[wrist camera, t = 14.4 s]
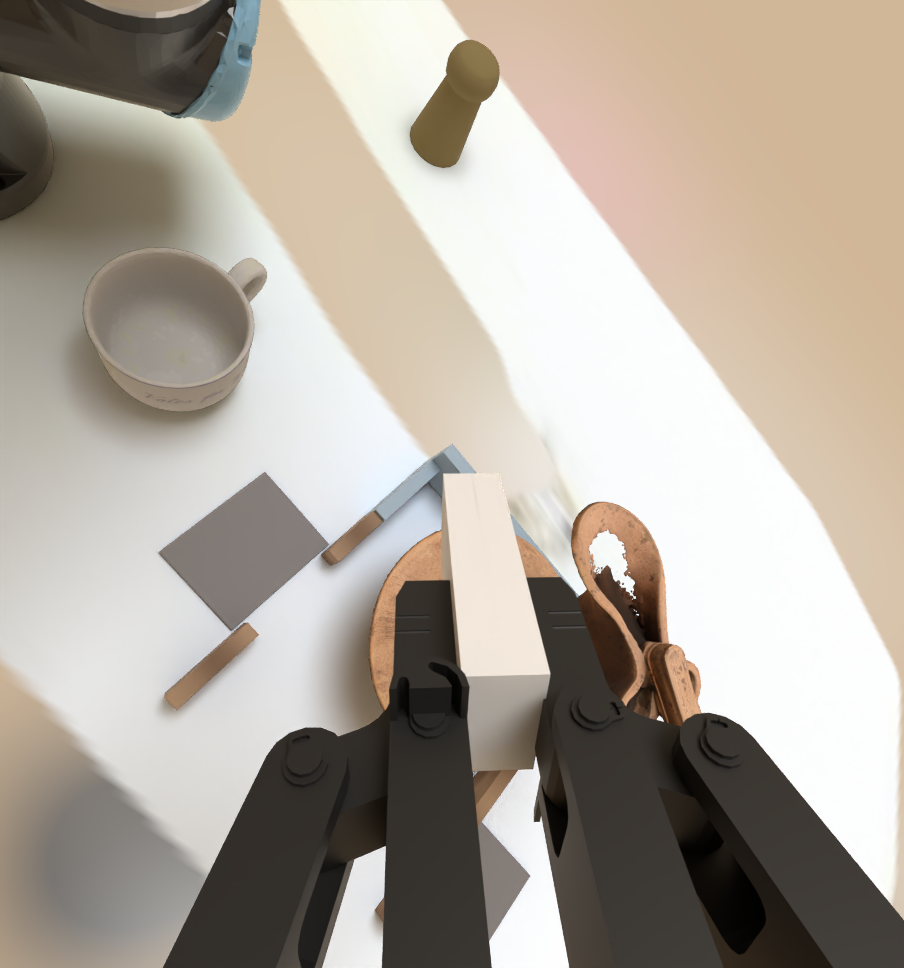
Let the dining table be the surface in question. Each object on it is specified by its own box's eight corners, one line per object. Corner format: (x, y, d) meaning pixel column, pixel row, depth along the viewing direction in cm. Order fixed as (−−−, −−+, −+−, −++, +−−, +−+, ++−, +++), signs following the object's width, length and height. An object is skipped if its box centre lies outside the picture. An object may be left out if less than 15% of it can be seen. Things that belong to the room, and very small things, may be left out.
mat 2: (454, 991, 45) (455, 993, 45) (388, 922, 44) (389, 924, 44) (528, 874, 50) (530, 875, 49) (469, 810, 49) (471, 811, 48)
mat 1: (231, 630, 44) (231, 630, 44) (159, 552, 43) (158, 552, 43) (328, 544, 49) (328, 544, 48) (264, 472, 48) (265, 471, 47)
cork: (429, 109, 64) (473, 17, 54) (469, 150, 65) (519, 67, 56) (399, 135, 61) (440, 43, 52) (441, 177, 63) (488, 95, 53)
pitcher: (540, 686, 54) (841, 737, 29) (383, 789, 46) (614, 979, 21) (467, 514, 55) (701, 424, 30) (300, 587, 47) (432, 546, 22)
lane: (385, 920, 44) (398, 938, 42) (165, 692, 41) (164, 697, 39) (535, 714, 53) (554, 718, 51) (363, 516, 50) (373, 510, 48)
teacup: (151, 448, 45) (145, 414, 37) (66, 330, 44) (44, 274, 37) (300, 370, 51) (319, 329, 44) (229, 267, 50) (236, 209, 43)
